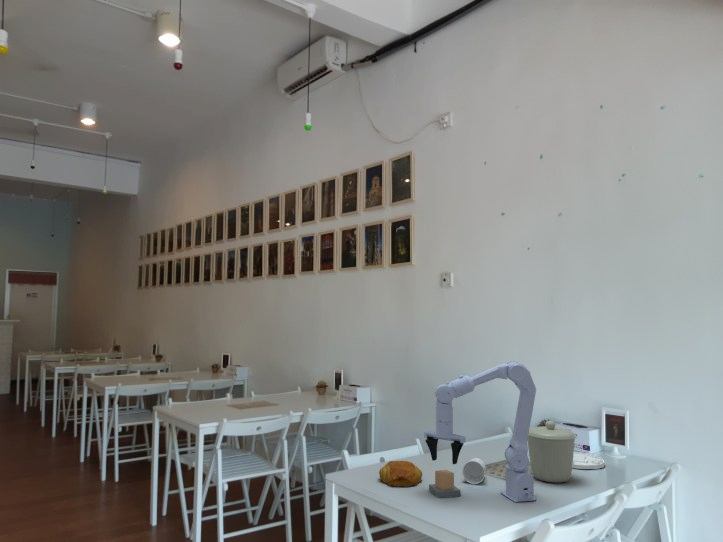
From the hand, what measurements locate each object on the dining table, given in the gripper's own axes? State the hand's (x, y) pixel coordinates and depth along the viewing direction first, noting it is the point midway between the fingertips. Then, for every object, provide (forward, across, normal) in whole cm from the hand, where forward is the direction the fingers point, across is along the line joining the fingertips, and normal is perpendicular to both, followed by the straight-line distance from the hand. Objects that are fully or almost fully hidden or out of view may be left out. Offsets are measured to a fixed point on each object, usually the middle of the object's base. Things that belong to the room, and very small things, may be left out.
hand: (444, 461), depth 183 cm
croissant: (+11, +19, -2) cm, 22 cm away
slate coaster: (+10, 0, 0) cm, 10 cm away
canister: (+11, -24, -39) cm, 47 cm away
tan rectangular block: (+8, 0, 0) cm, 8 cm away
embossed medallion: (+11, -27, -68) cm, 74 cm away
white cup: (+7, -1, -26) cm, 26 cm away
